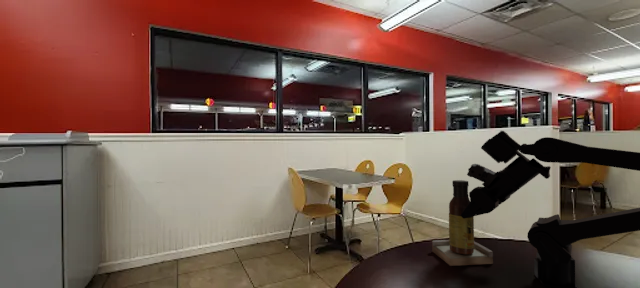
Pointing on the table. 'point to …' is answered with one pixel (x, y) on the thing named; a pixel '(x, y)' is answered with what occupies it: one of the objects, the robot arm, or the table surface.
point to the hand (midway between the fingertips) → (467, 213)
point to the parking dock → (454, 259)
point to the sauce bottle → (460, 220)
